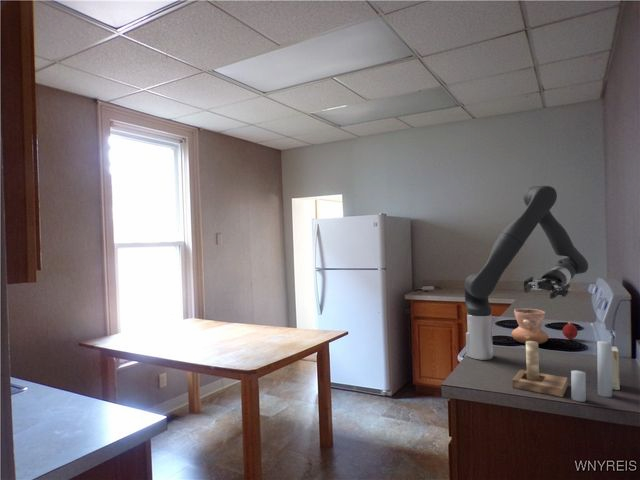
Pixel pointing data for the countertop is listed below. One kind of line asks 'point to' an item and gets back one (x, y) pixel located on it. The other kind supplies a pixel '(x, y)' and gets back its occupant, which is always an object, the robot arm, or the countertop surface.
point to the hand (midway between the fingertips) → (538, 293)
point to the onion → (570, 331)
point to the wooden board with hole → (541, 383)
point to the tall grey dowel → (604, 368)
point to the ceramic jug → (529, 326)
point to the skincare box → (615, 368)
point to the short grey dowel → (578, 386)
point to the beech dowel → (532, 361)
